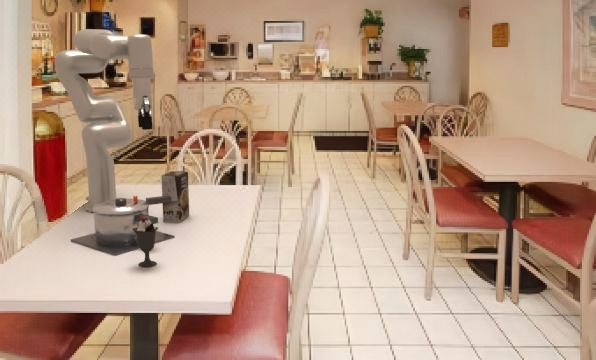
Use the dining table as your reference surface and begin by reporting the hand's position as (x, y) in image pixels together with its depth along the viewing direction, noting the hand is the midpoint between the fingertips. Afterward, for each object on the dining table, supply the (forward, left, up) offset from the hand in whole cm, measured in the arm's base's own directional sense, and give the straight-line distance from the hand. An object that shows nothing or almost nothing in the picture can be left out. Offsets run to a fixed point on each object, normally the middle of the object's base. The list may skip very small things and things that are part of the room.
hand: (145, 128), depth 200 cm
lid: (+8, -12, -22) cm, 27 cm away
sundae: (+31, -26, -33) cm, 52 cm away
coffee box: (+2, +10, -33) cm, 34 cm away
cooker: (+9, -16, -32) cm, 37 cm away
